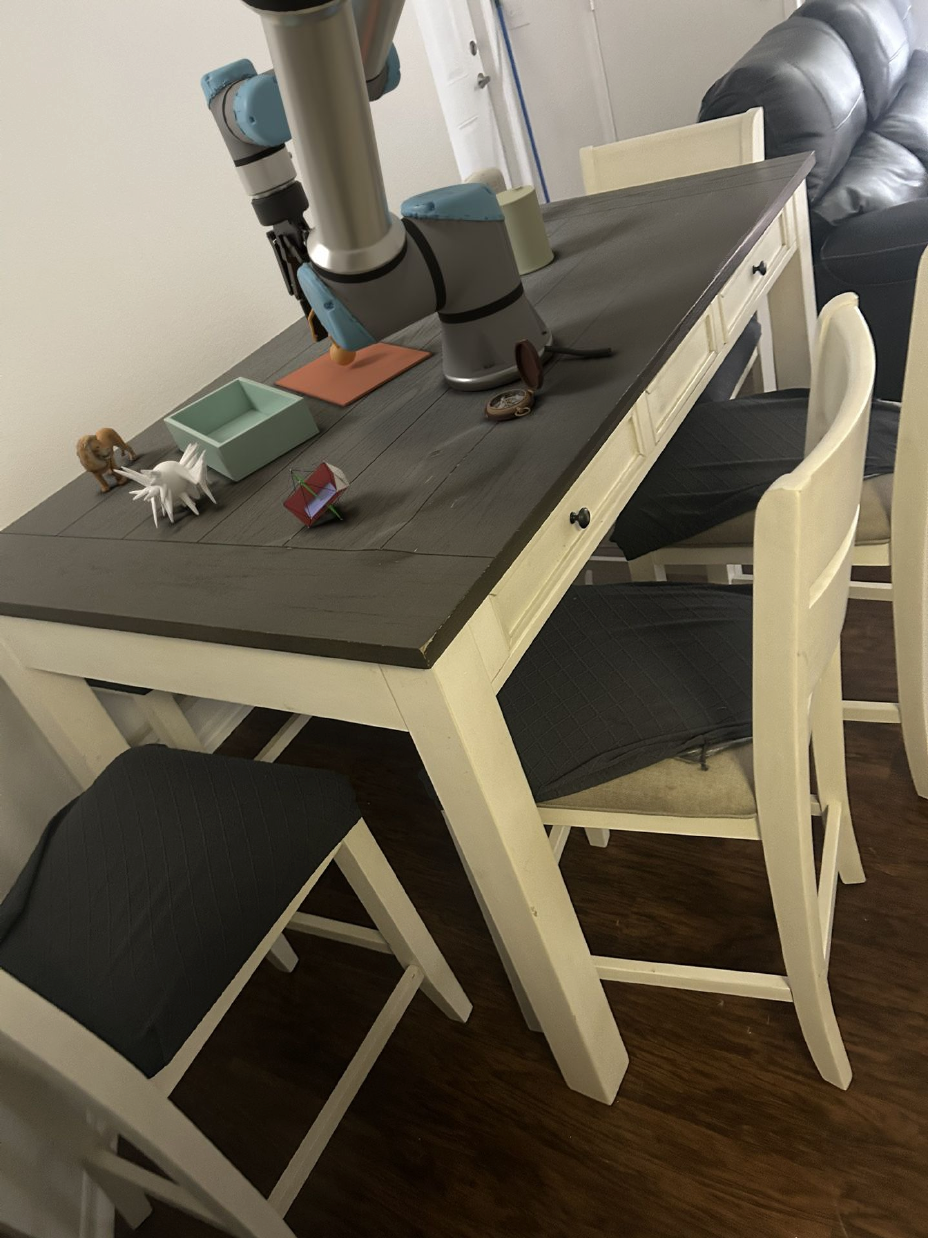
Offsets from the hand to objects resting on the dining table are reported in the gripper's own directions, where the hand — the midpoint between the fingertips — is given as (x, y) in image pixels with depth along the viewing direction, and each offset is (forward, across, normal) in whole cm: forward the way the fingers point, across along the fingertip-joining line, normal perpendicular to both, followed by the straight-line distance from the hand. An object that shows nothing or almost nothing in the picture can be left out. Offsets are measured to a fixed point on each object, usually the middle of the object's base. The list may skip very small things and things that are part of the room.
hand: (338, 340), depth 141 cm
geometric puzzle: (+5, -39, +26) cm, 47 cm away
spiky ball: (+5, -16, +36) cm, 39 cm away
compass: (+5, -42, -1) cm, 42 cm away
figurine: (+3, +2, 0) cm, 4 cm away
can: (+5, +1, -38) cm, 38 cm away
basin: (+5, -4, +21) cm, 22 cm away
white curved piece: (+5, +23, -48) cm, 53 cm away
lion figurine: (+5, +10, +37) cm, 39 cm away
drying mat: (+5, 0, 0) cm, 5 cm away
